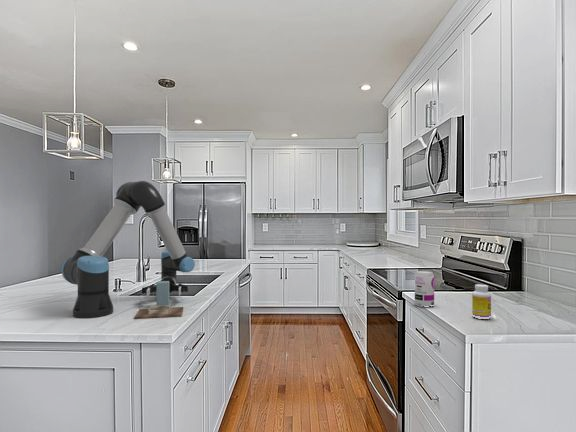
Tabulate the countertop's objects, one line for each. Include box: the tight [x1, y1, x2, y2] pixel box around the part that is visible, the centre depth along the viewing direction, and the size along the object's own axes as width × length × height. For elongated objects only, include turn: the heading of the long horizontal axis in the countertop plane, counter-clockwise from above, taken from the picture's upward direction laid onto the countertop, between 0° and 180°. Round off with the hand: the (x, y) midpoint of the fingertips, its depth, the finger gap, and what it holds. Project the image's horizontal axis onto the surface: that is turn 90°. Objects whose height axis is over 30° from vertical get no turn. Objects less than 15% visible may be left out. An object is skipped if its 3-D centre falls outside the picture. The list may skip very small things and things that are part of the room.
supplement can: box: [414, 270, 435, 308], centre depth 180 cm, size 8×8×15 cm
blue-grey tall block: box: [156, 280, 170, 306], centre depth 180 cm, size 5×5×11 cm
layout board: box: [133, 304, 184, 320], centre depth 167 cm, size 18×14×2 cm
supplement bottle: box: [471, 283, 492, 317], centre depth 158 cm, size 7×7×13 cm
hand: (163, 292), depth 179 cm, fingers open, 13 cm apart
